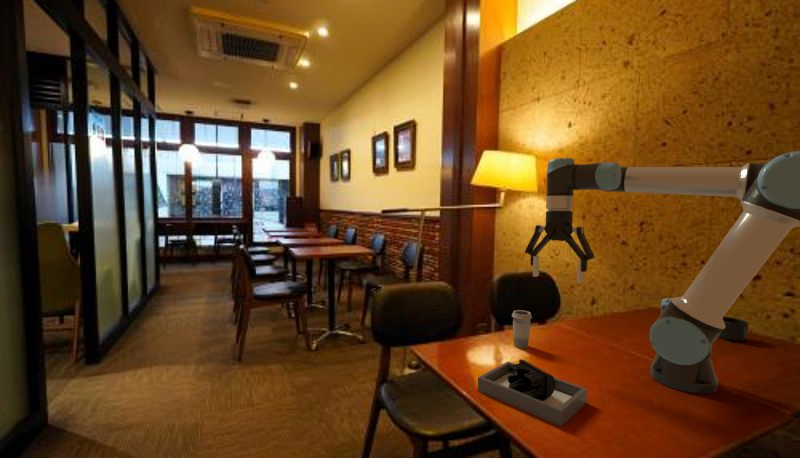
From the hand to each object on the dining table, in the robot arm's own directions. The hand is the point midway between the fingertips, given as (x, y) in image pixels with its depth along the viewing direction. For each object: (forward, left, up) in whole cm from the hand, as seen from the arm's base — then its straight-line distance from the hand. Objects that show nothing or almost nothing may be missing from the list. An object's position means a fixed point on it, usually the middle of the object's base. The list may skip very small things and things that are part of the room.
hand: (557, 279), depth 114 cm
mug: (-34, -71, -27) cm, 84 cm away
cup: (+14, -5, -27) cm, 31 cm away
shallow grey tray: (-5, +25, -27) cm, 36 cm away
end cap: (-5, +24, -26) cm, 36 cm away
